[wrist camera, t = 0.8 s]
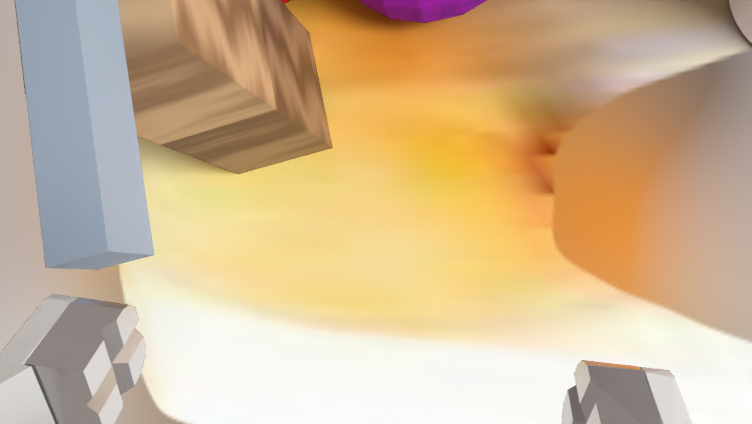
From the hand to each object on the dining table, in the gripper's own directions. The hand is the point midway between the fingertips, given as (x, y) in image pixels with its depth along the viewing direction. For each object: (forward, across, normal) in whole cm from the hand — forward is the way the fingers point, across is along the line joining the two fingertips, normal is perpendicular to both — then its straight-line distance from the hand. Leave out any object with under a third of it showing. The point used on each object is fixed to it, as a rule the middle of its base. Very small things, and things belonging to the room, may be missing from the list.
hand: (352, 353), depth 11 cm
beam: (+24, +18, +3) cm, 31 cm away
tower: (+46, +14, +18) cm, 51 cm away
